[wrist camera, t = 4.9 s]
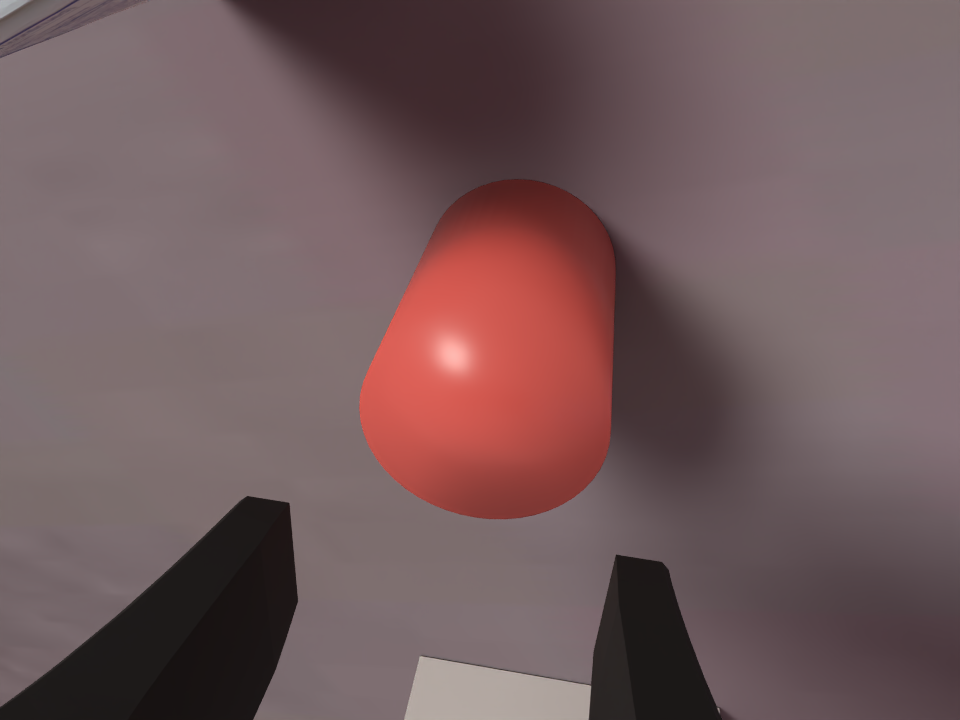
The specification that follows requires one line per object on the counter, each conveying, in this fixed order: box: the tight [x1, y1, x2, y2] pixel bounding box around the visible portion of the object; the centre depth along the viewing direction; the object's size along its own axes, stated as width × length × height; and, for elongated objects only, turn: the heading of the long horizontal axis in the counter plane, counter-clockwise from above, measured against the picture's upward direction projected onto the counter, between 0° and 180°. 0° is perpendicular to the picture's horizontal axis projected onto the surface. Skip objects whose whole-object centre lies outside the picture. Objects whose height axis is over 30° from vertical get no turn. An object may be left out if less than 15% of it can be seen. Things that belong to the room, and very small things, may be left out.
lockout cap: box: [359, 179, 616, 519], centre depth 17 cm, size 4×4×6 cm
